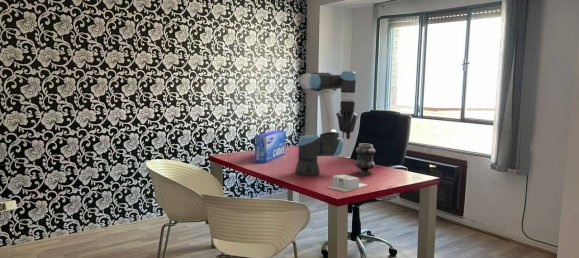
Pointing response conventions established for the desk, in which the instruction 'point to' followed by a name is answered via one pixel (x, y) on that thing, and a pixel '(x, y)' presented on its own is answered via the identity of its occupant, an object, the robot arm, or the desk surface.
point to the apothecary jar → (365, 158)
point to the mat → (346, 188)
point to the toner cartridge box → (269, 146)
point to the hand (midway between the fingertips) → (345, 144)
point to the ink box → (346, 181)
